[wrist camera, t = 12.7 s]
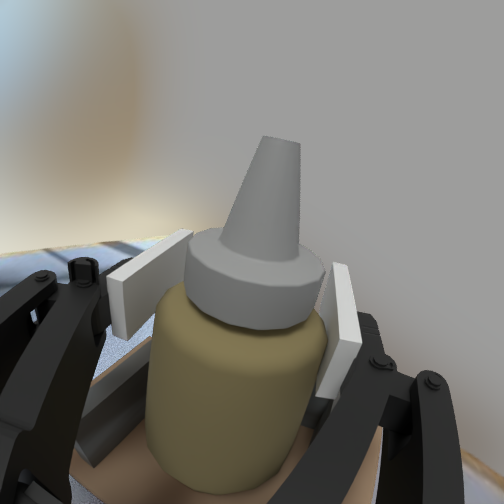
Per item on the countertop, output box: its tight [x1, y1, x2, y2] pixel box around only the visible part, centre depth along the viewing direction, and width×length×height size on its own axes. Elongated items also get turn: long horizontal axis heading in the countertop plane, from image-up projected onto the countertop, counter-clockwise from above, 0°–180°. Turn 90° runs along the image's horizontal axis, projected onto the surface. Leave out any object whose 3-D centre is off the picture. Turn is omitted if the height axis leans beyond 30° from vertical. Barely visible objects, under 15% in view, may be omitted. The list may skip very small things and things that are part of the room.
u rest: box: [69, 336, 382, 504], centre depth 15 cm, size 22×15×6 cm
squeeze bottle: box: [145, 136, 328, 495], centre depth 12 cm, size 8×8×18 cm
